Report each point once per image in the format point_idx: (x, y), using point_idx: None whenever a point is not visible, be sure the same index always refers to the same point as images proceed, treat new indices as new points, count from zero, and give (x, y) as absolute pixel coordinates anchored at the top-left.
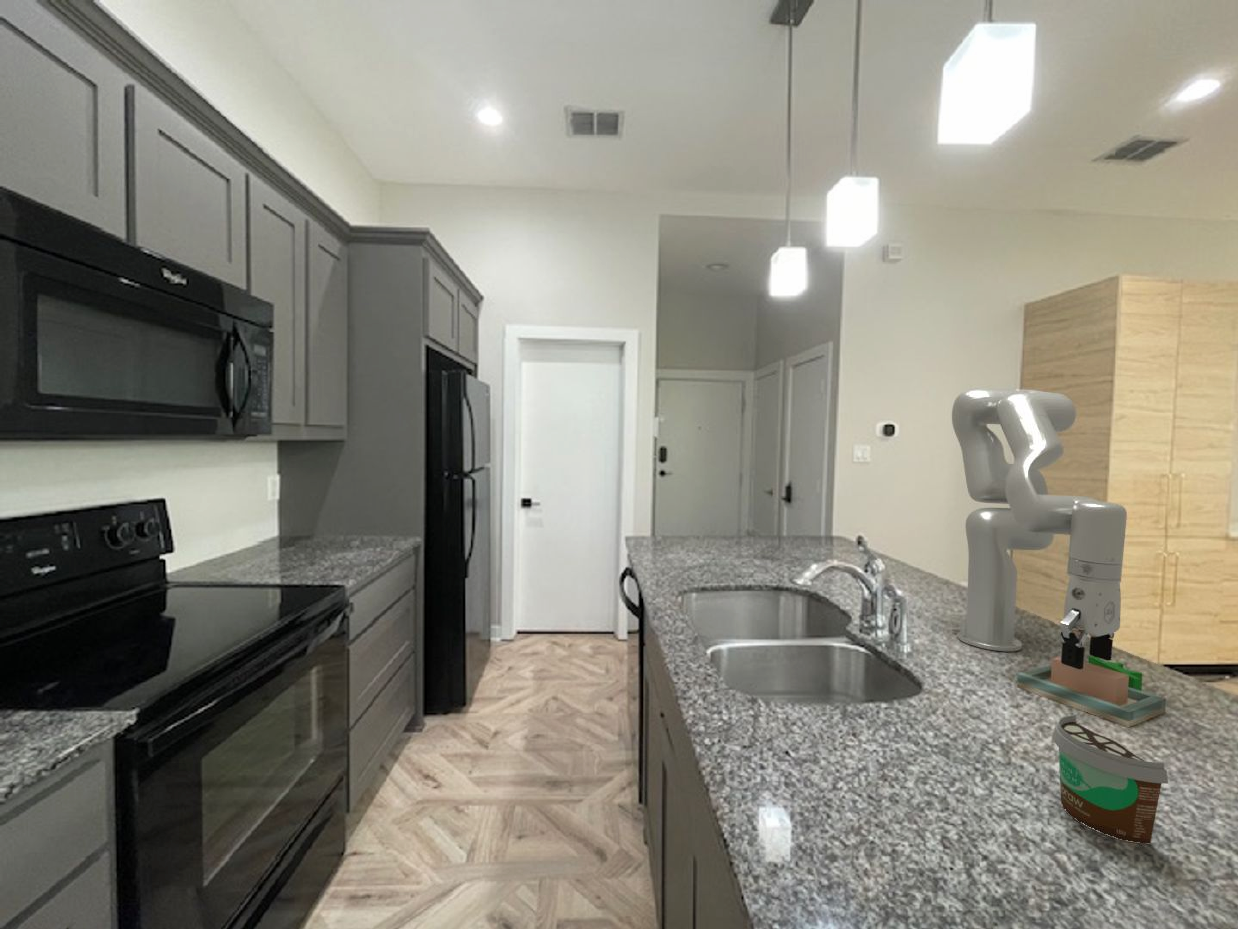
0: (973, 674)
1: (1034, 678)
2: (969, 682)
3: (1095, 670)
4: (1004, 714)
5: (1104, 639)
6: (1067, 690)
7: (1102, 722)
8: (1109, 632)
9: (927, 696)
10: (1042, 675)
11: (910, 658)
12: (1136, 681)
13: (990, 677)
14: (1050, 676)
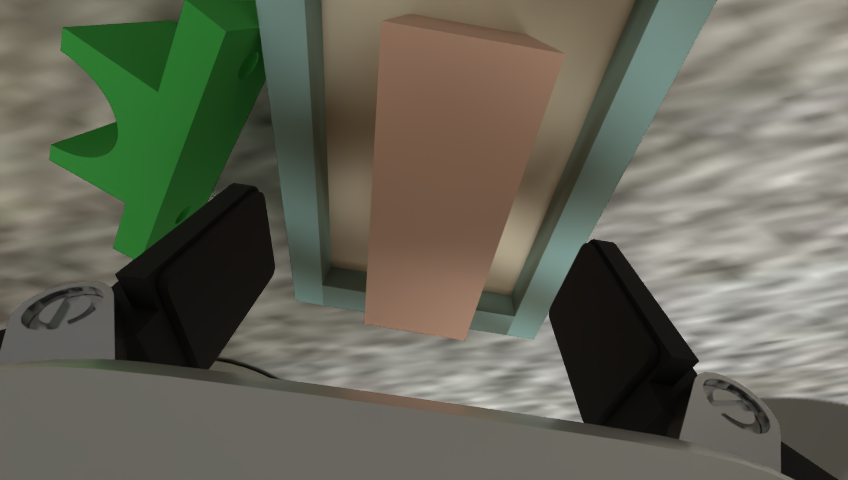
0: (517, 374)
1: (540, 304)
2: None
3: (487, 192)
4: (842, 271)
5: (178, 311)
6: (594, 211)
7: (706, 34)
8: (345, 420)
9: (796, 392)
10: None
11: None
12: (221, 18)
13: (503, 352)
14: None
